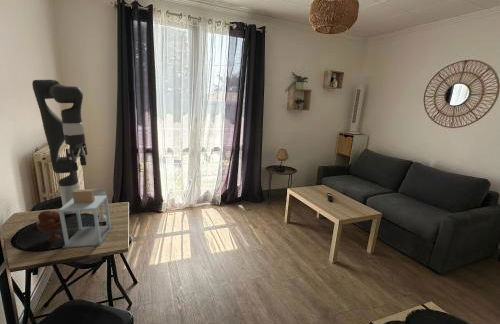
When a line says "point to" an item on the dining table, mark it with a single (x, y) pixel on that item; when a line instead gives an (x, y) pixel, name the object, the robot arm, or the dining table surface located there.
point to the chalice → (102, 193)
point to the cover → (84, 202)
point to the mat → (87, 237)
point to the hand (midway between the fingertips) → (79, 167)
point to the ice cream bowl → (49, 224)
